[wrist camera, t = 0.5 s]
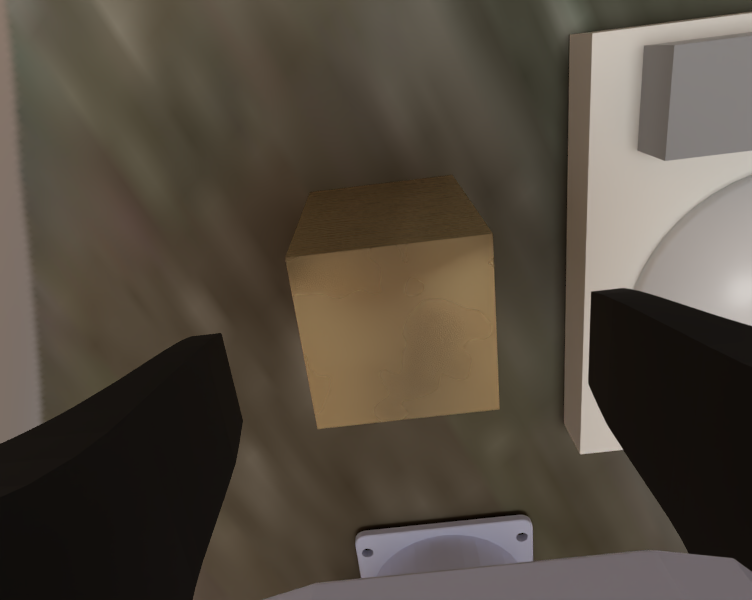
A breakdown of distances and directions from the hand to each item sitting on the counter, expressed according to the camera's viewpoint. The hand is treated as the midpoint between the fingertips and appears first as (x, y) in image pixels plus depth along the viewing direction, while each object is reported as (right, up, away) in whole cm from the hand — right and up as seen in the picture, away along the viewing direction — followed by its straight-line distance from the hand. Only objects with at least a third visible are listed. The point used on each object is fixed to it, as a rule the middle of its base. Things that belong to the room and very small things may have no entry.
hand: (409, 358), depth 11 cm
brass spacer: (0, +3, +10) cm, 10 cm away
